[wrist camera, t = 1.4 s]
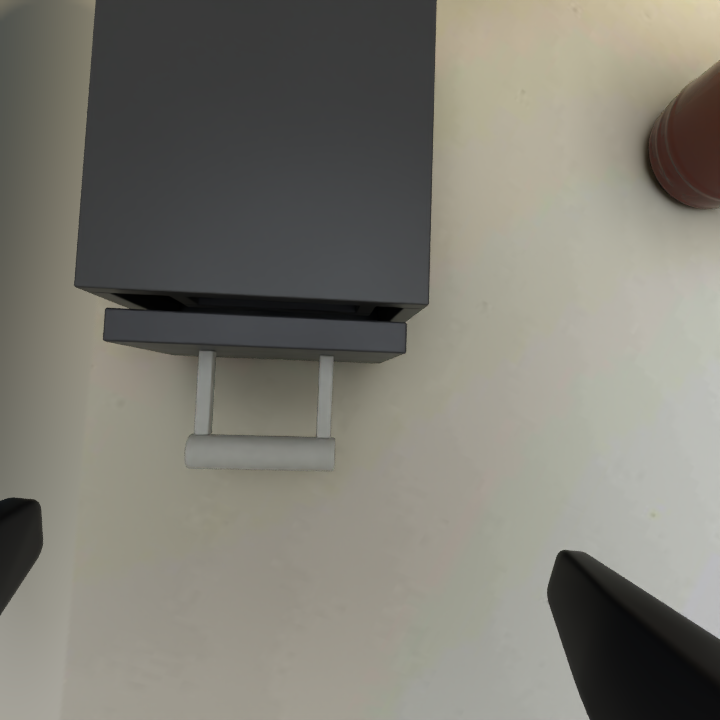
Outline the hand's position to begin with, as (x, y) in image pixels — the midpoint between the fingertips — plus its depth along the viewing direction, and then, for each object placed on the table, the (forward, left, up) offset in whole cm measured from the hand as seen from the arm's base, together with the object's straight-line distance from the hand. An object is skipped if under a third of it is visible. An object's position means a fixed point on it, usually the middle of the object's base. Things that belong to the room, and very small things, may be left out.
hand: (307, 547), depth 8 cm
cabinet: (+12, +8, -17) cm, 22 cm away
